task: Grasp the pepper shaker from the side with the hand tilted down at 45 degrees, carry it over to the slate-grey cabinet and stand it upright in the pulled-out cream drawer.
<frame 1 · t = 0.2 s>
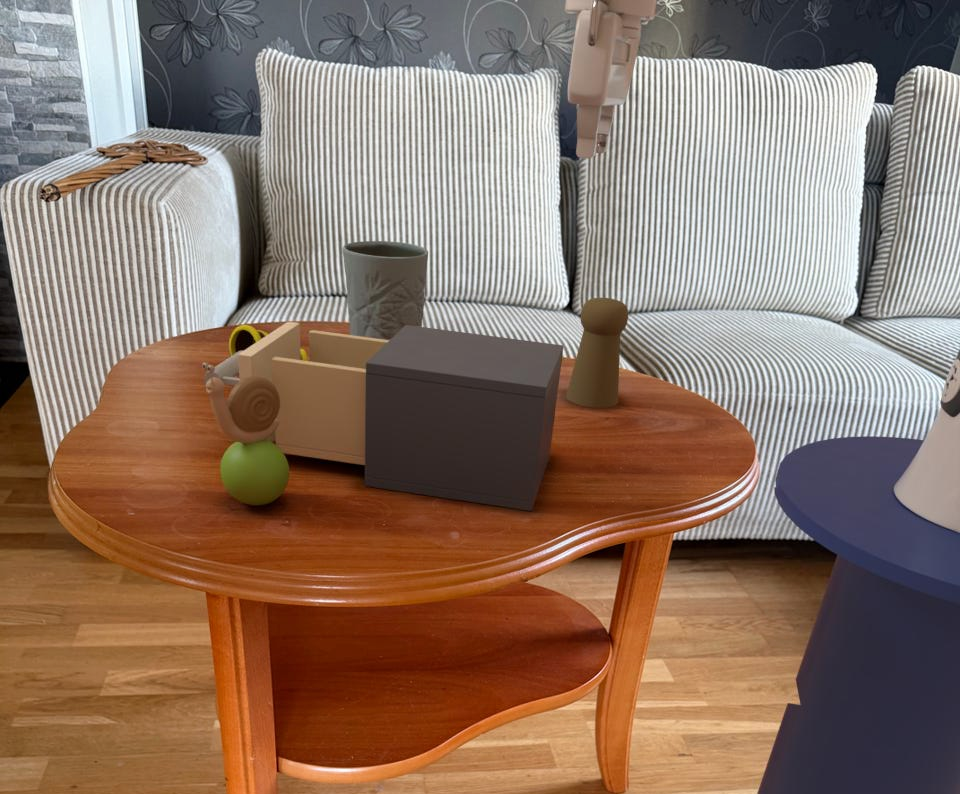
hand: (591, 155, 95), 24 cm above the table, tool pointing down, fingers open, 8 cm apart
grey embossed cup: (383, 351, 113), on the table
drawer: (315, 393, 82), point 5 cm above the table, slide at 10.0 cm
cabinet: (461, 471, 83), on the table
creature: (336, 398, 97), on the table
snail figurine: (252, 506, 74), on the table
pepper shaker: (591, 400, 103), on the table
opera glasses: (270, 376, 102), on the table
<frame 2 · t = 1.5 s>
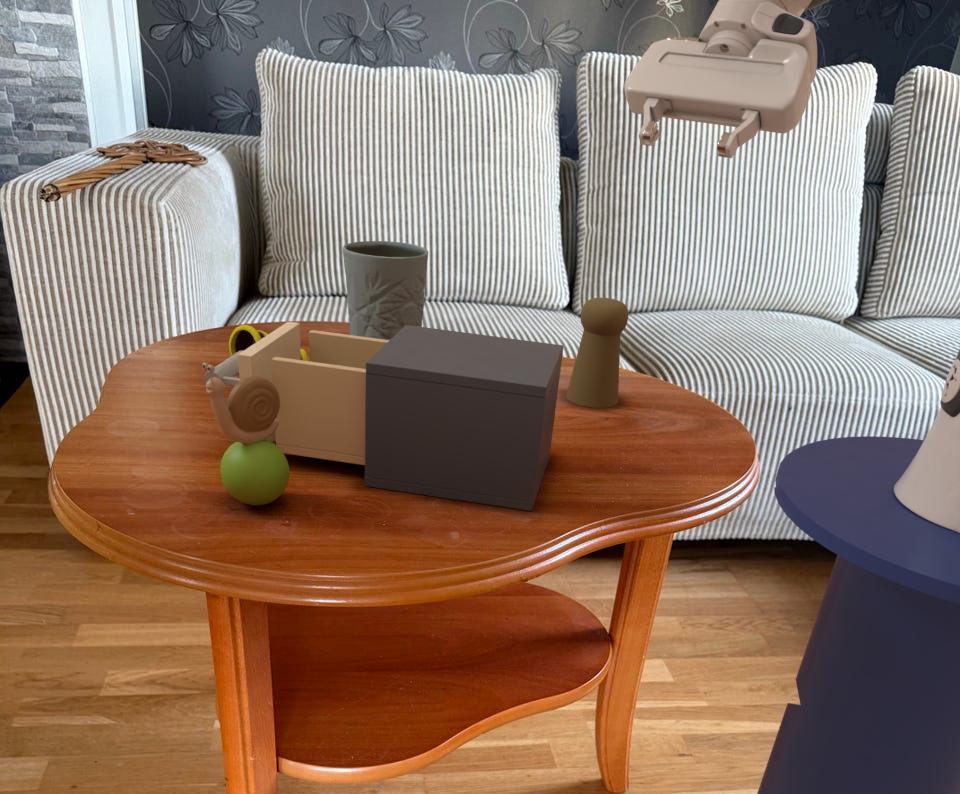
hand: (683, 147, 98), 25 cm above the table, tool tilted 45°, fingers open, 8 cm apart
nothing on the table moved.
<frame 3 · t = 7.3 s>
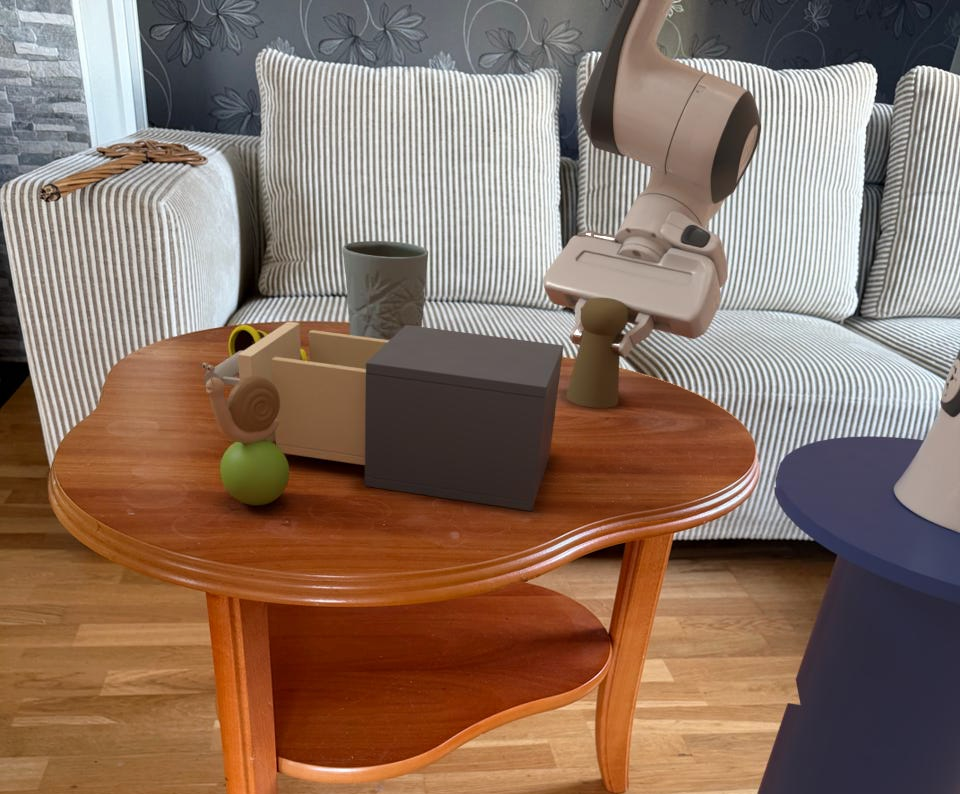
hand: (597, 347, 100), 6 cm above the table, tool tilted 45°, fingers closed on pepper shaker, 4 cm apart
pepper shaker: (591, 400, 103), on the table, touching gripper
everything else where it was.
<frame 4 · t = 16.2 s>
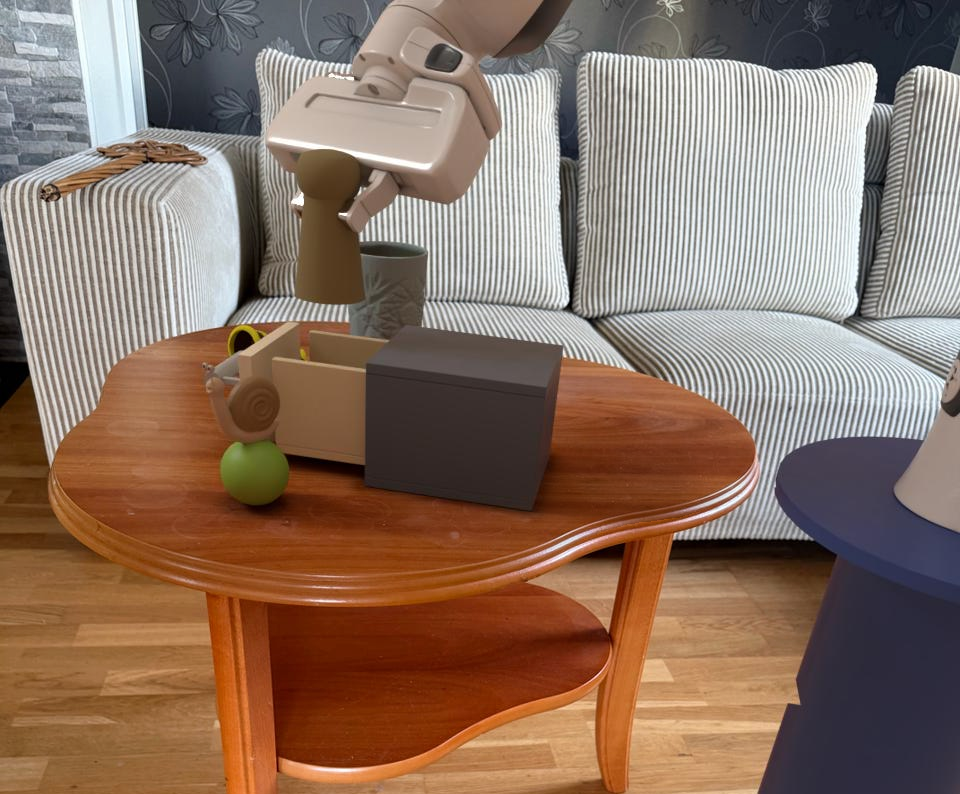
hand: (323, 220, 73), 20 cm above the table, tool tilted 45°, fingers closed on pepper shaker, 4 cm apart
pepper shaker: (330, 298, 77), point 14 cm above the table, touching gripper
everything else where it was.
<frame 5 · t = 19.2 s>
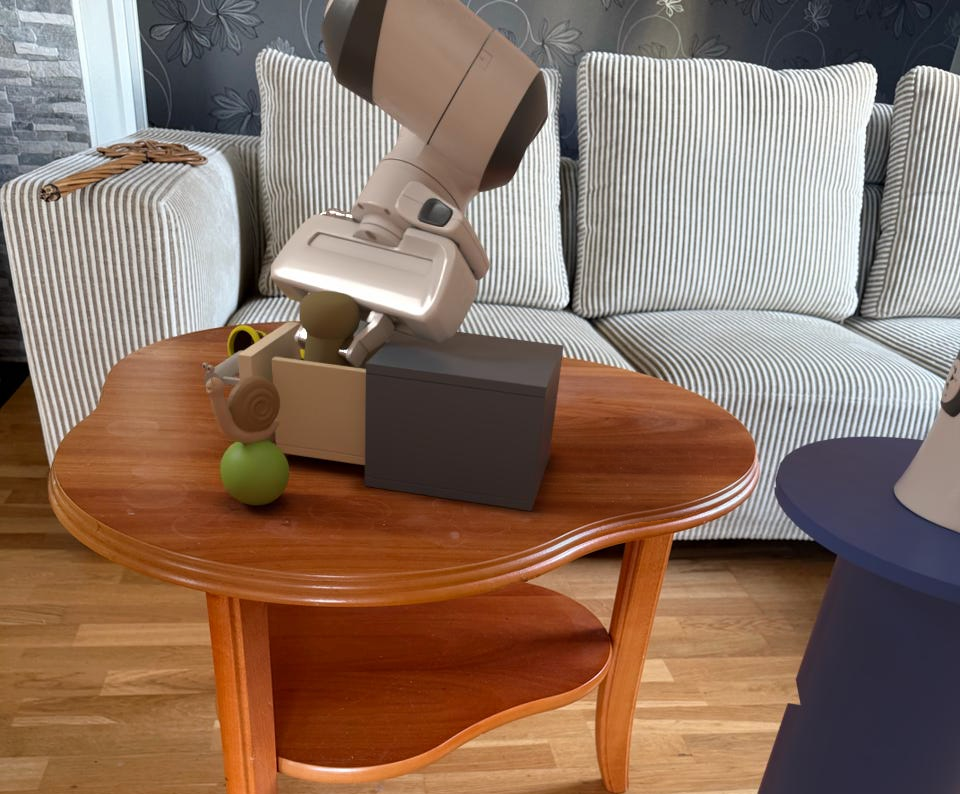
hand: (325, 354, 79), 9 cm above the table, tool tilted 45°, fingers closed on pepper shaker, 4 cm apart
pepper shaker: (331, 420, 83), point 3 cm above the table, touching gripper
everything else where it was.
when the fingers open (10 cm above the table, at t = 25.5 s): pepper shaker moves 3 cm, resting on drawer.
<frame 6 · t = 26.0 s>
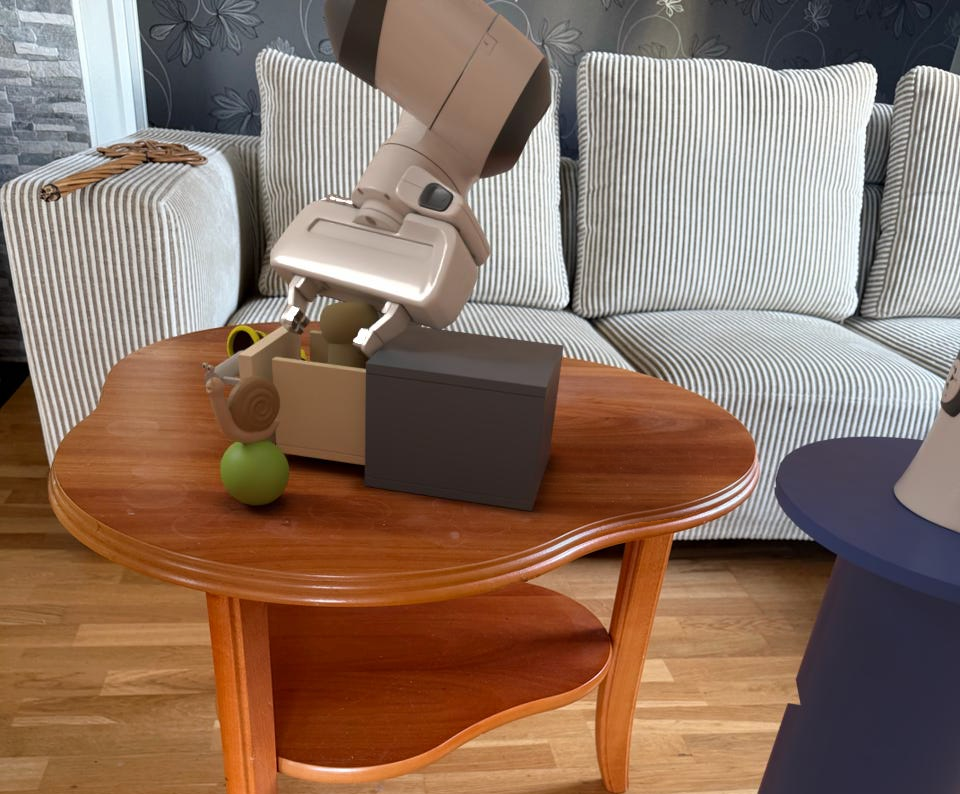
hand: (324, 340, 78), 10 cm above the table, tool tilted 45°, fingers open, 8 cm apart
drawer: (315, 393, 82), point 5 cm above the table, slide at 10.0 cm, touching pepper shaker
pepper shaker: (359, 433, 82), point 3 cm above the table, touching drawer, gripper
everything else where it was.
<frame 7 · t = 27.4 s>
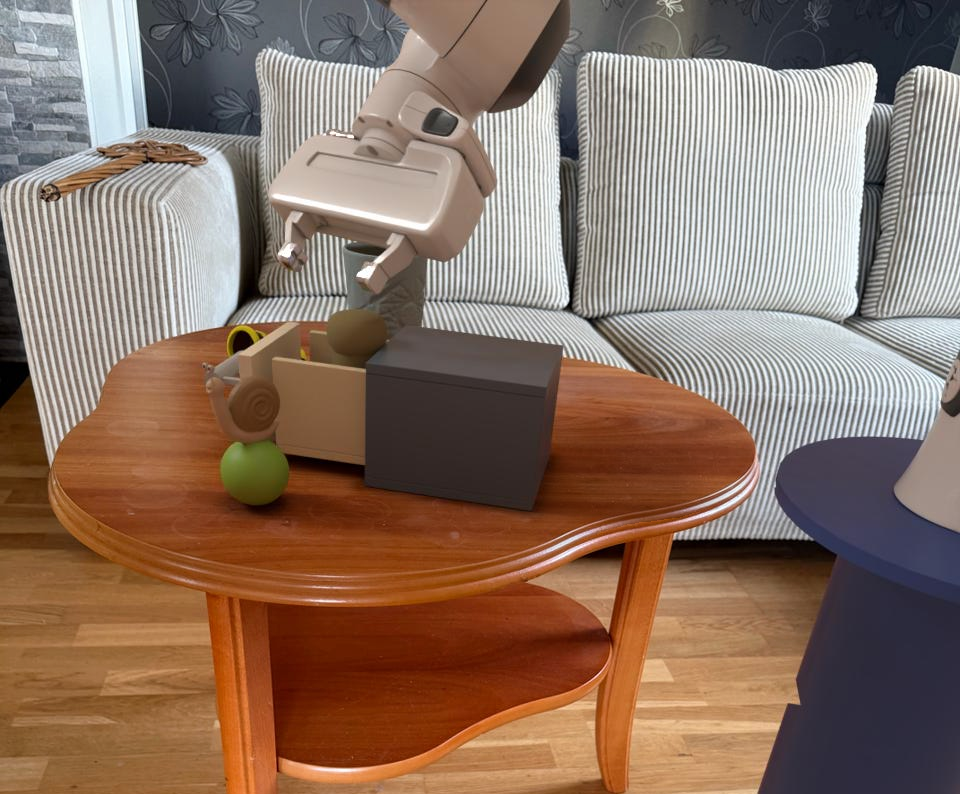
hand: (325, 276, 75), 16 cm above the table, tool tilted 45°, fingers open, 8 cm apart
pepper shaker: (359, 438, 82), point 2 cm above the table, touching cabinet, drawer
everything else where it was.
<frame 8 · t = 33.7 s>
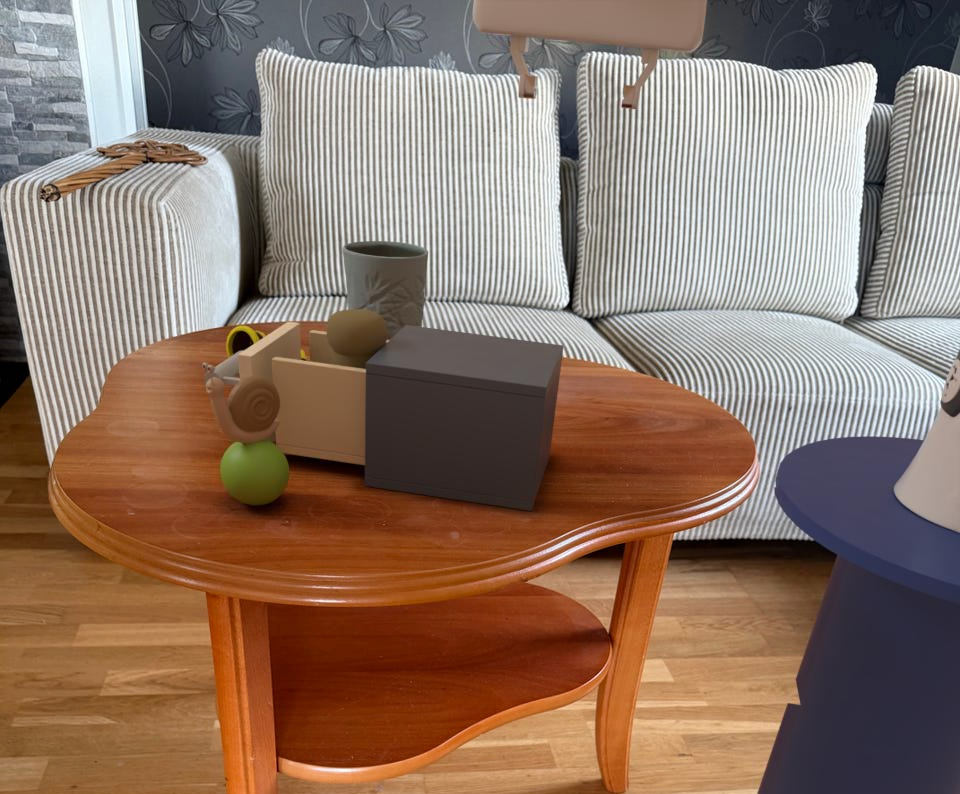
hand: (577, 103, 82), 29 cm above the table, tool pointing down, fingers open, 8 cm apart
nothing on the table moved.
at the end: pepper shaker inside the target area in the drawer (3.6 cm from its centre), point 2.1 cm above the cabinet's base; pepper shaker tilted 3°; the gripper is holding nothing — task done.
